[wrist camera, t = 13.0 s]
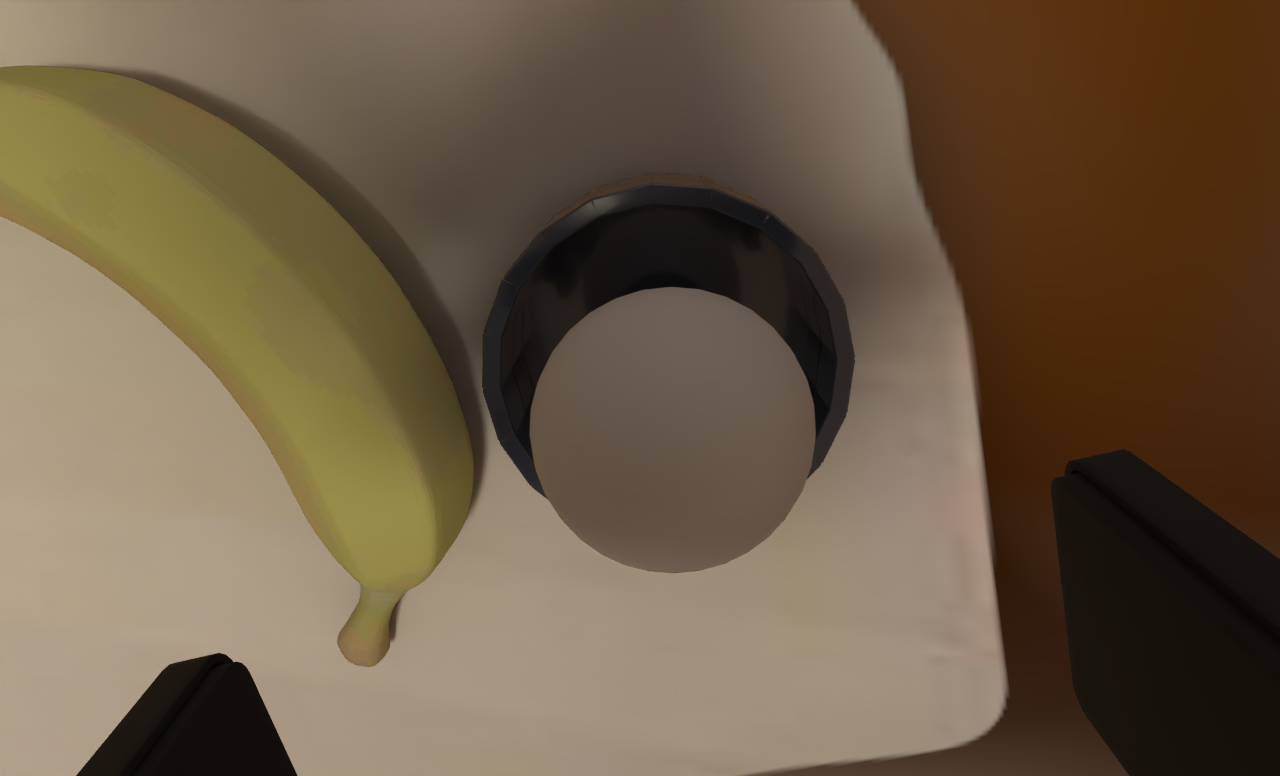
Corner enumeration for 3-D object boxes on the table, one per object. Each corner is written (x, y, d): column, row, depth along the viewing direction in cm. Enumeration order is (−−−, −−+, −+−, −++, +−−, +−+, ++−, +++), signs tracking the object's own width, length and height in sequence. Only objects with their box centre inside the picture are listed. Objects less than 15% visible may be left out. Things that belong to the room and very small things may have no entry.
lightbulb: (693, 196, 25) (724, 253, 15) (804, 364, 27) (904, 524, 16) (524, 314, 26) (441, 445, 16) (640, 469, 28) (634, 684, 17)
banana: (193, -15, 17) (491, 723, 26) (341, -27, 22) (552, 598, 30) (-241, 119, 22) (131, 716, 30) (-39, 85, 26) (234, 607, 34)
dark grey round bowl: (469, 218, 26) (433, 238, 22) (787, 136, 25) (815, 141, 21) (556, 505, 29) (540, 574, 25) (845, 439, 28) (881, 498, 24)
